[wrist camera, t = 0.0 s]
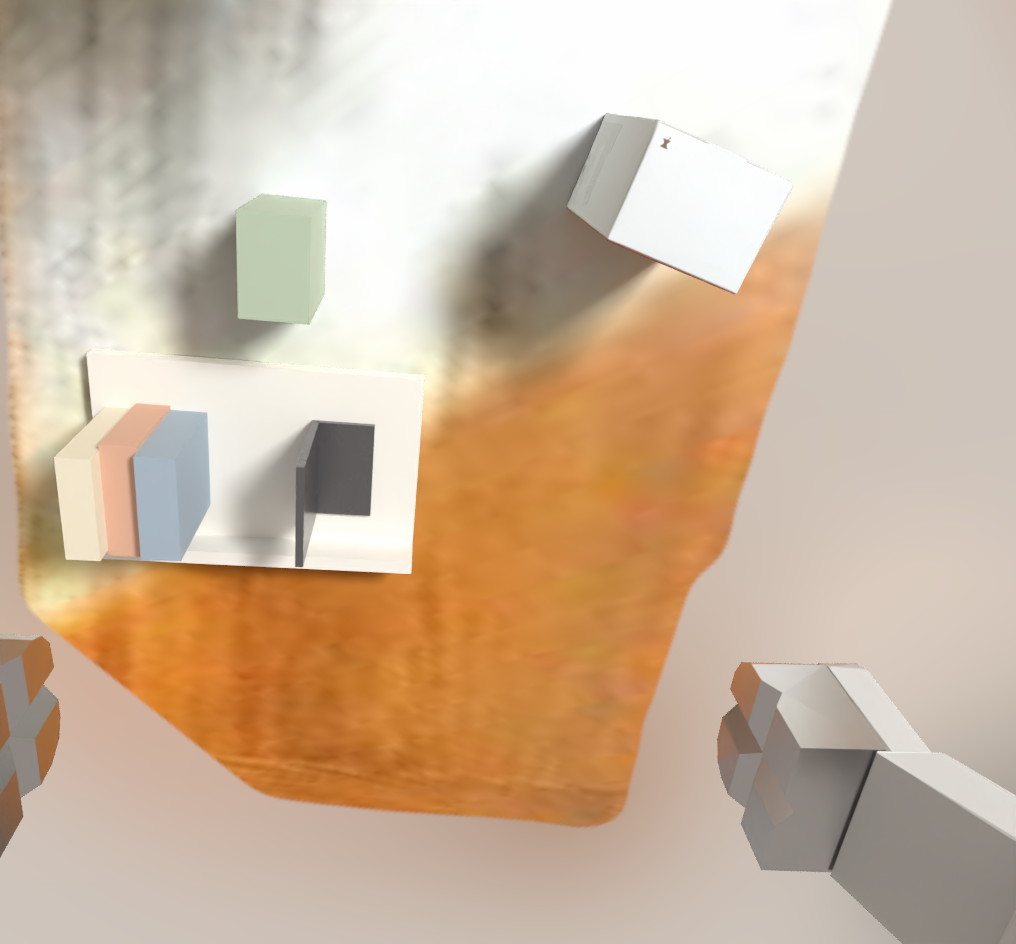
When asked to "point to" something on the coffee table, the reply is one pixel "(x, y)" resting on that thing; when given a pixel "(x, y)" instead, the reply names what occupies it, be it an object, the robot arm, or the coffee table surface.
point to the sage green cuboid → (280, 258)
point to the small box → (677, 199)
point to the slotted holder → (242, 464)
